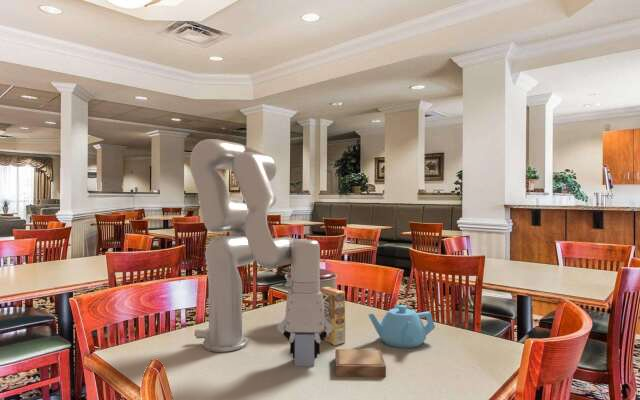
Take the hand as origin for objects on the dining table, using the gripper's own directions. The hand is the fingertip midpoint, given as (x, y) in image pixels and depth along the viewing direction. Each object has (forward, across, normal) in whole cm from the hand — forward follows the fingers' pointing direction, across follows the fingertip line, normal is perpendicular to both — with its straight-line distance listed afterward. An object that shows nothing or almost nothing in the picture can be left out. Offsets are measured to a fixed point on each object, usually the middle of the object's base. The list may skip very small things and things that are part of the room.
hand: (305, 355), depth 110 cm
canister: (+2, 0, +34) cm, 34 cm away
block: (+2, 0, 0) cm, 2 cm away
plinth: (+2, +14, -3) cm, 14 cm away
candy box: (+2, +7, +17) cm, 18 cm away
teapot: (+2, +28, +17) cm, 33 cm away
